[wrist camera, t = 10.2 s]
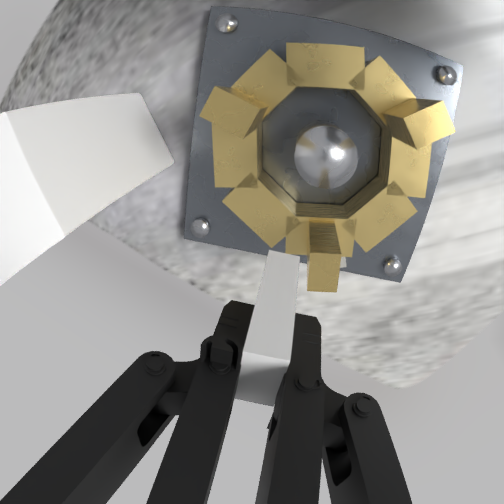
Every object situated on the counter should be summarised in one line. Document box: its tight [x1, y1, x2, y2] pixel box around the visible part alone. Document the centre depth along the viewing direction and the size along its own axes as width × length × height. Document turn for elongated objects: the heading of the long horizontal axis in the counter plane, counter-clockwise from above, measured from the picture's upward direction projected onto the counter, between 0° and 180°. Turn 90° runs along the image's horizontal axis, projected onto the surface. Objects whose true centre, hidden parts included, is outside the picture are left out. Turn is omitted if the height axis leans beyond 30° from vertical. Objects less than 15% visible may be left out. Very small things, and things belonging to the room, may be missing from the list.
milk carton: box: [0, 93, 174, 286], centre depth 18 cm, size 7×7×19 cm
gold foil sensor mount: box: [199, 43, 455, 292], centre depth 19 cm, size 15×15×8 cm
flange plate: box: [184, 6, 464, 283], centre depth 21 cm, size 20×20×6 cm
